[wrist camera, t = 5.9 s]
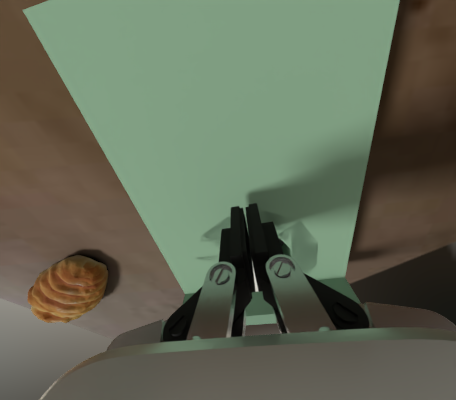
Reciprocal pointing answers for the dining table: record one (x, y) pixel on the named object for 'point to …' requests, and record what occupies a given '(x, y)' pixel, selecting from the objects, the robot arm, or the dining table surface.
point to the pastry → (68, 289)
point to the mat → (230, 117)
